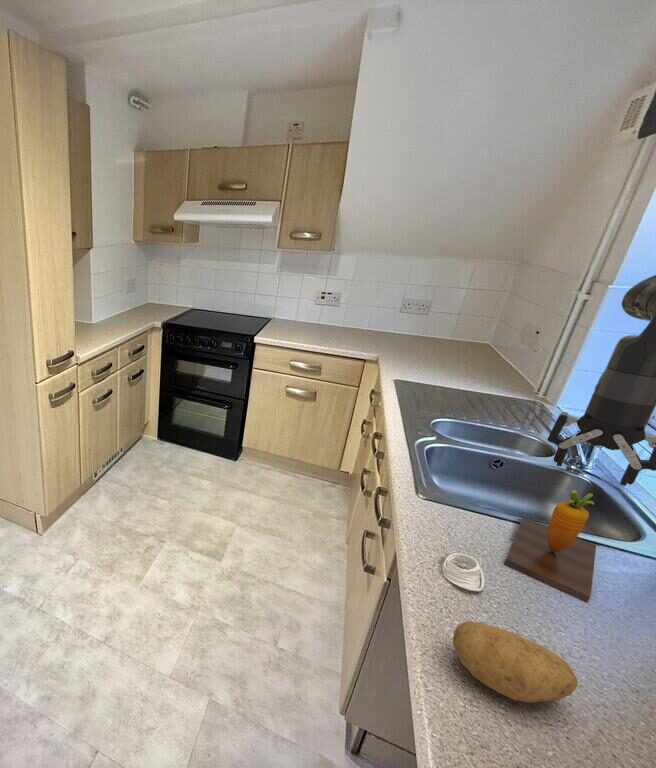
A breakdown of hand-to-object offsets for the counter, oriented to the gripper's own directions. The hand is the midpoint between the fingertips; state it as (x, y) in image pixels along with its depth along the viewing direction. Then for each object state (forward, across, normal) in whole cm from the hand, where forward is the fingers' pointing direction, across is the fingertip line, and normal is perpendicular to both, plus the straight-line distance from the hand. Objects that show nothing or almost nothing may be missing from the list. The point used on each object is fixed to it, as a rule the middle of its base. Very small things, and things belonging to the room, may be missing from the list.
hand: (589, 473), depth 78 cm
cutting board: (+20, 0, 0) cm, 20 cm away
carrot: (+19, 0, 0) cm, 19 cm away
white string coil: (+20, +10, +22) cm, 31 cm away
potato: (+20, +1, +40) cm, 45 cm away
